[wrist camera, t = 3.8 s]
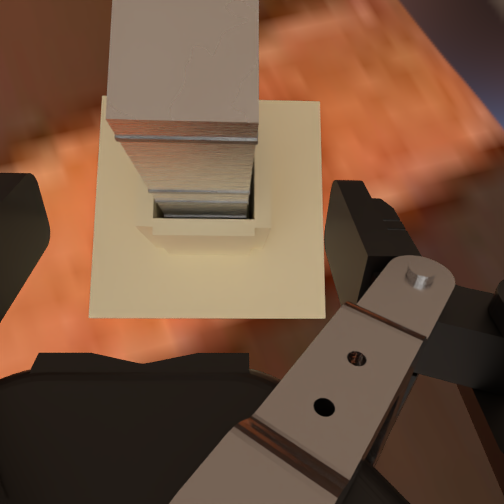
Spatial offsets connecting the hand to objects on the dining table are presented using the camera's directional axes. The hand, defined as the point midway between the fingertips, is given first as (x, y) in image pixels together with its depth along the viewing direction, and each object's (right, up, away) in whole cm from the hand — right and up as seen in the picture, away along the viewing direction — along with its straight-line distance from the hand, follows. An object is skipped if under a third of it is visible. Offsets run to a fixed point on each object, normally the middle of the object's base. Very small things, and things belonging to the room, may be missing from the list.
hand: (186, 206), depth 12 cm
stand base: (-1, +1, +16) cm, 16 cm away
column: (-1, +2, +14) cm, 15 cm away
